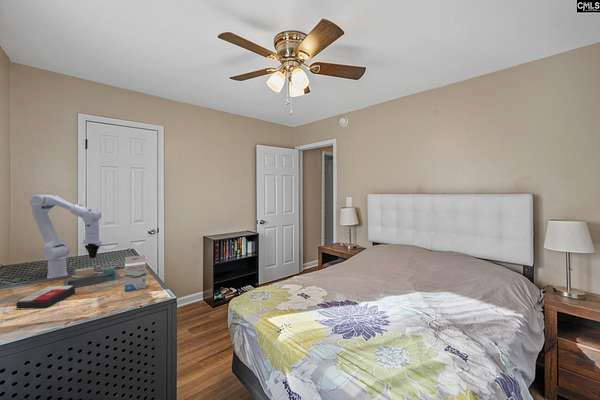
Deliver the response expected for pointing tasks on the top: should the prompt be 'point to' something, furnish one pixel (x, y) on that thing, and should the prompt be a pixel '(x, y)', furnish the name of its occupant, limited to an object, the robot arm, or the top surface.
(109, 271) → the sliding jaw
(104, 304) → the top surface
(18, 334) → the top surface
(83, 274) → the birch block
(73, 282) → the vise base
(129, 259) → the ink box
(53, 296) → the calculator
